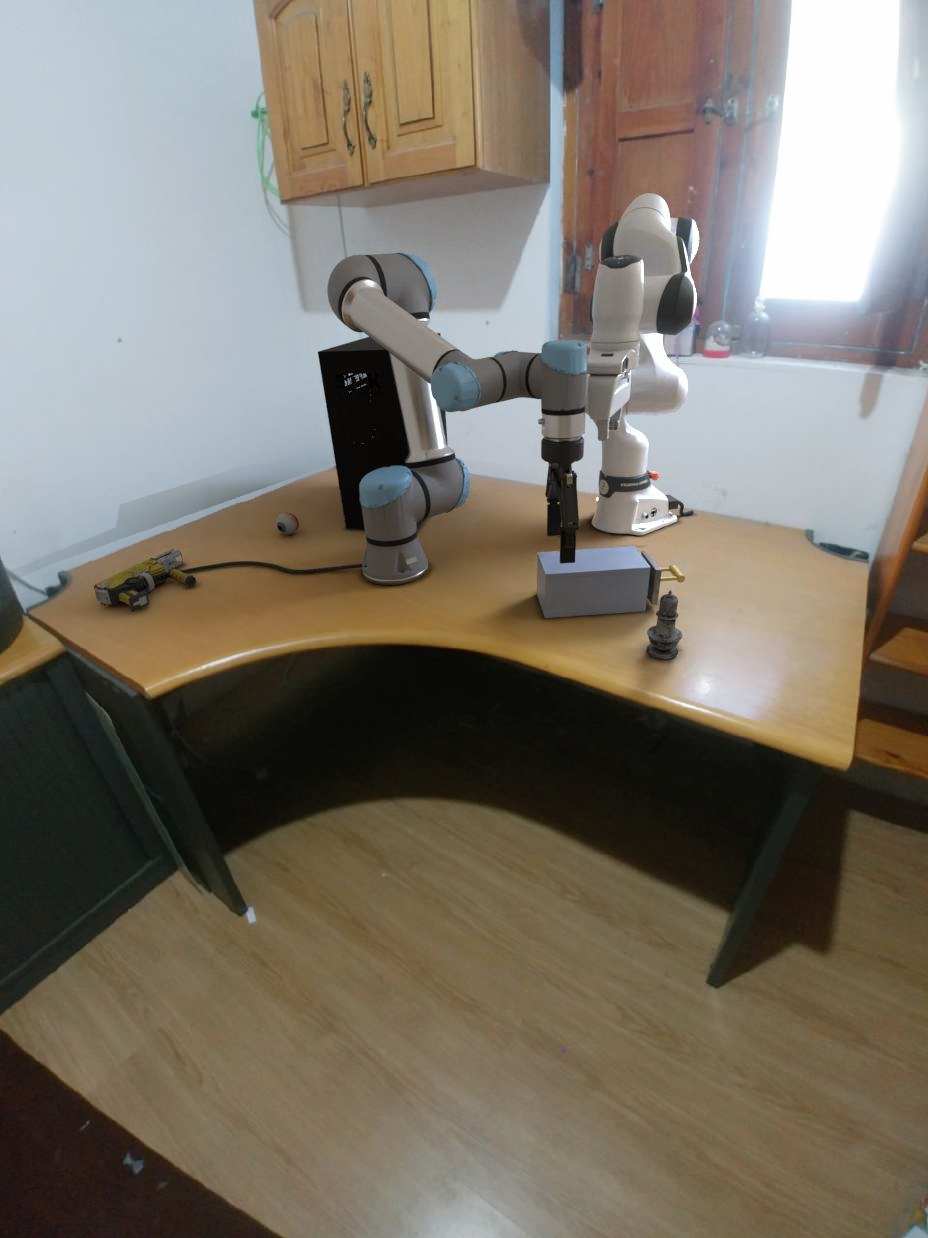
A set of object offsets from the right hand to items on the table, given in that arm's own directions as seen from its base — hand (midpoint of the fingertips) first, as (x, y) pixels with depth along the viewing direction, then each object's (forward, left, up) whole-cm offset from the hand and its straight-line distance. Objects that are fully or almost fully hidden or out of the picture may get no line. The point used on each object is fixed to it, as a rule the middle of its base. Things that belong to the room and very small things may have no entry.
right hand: (608, 434), depth 118 cm
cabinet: (+9, +9, -31) cm, 33 cm away
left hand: (+15, +7, -18) cm, 24 cm away
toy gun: (+89, -46, -31) cm, 105 cm away
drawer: (+3, +11, -30) cm, 32 cm away
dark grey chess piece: (+8, +30, -31) cm, 44 cm away
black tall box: (+22, -68, -31) cm, 78 cm away
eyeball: (+56, -64, -31) cm, 91 cm away
